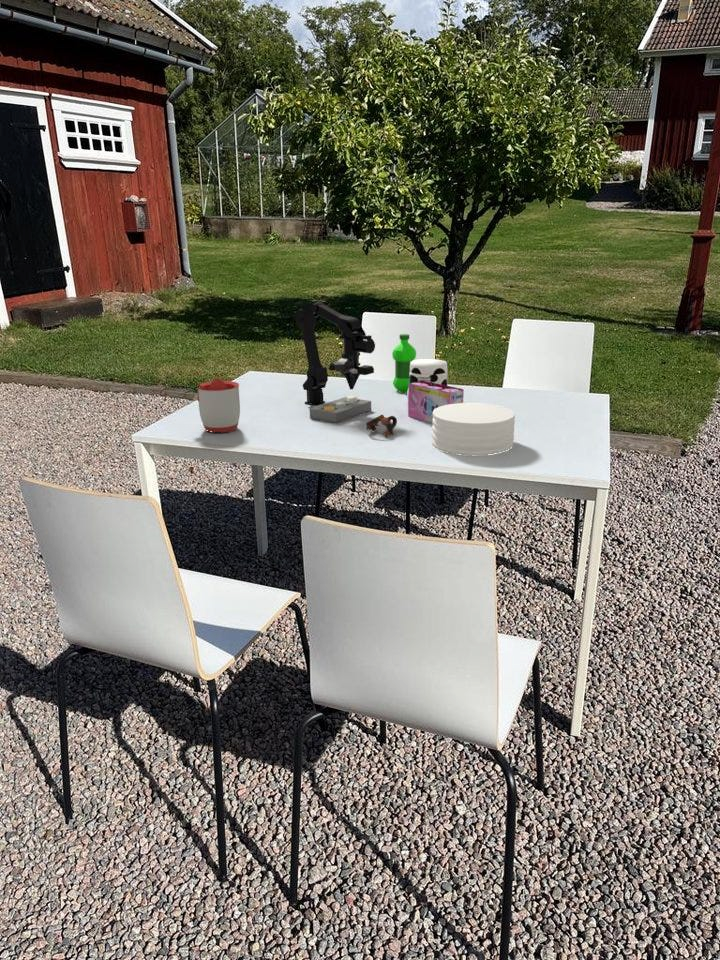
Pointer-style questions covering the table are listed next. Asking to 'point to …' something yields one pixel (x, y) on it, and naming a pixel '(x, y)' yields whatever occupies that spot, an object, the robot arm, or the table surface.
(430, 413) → the gum box
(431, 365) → the milk container
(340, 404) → the sage button
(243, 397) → the table surface
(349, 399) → the cream button
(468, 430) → the plate stack
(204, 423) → the citrus juicer
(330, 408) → the amber button
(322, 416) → the button panel
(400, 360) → the plastic bottle
